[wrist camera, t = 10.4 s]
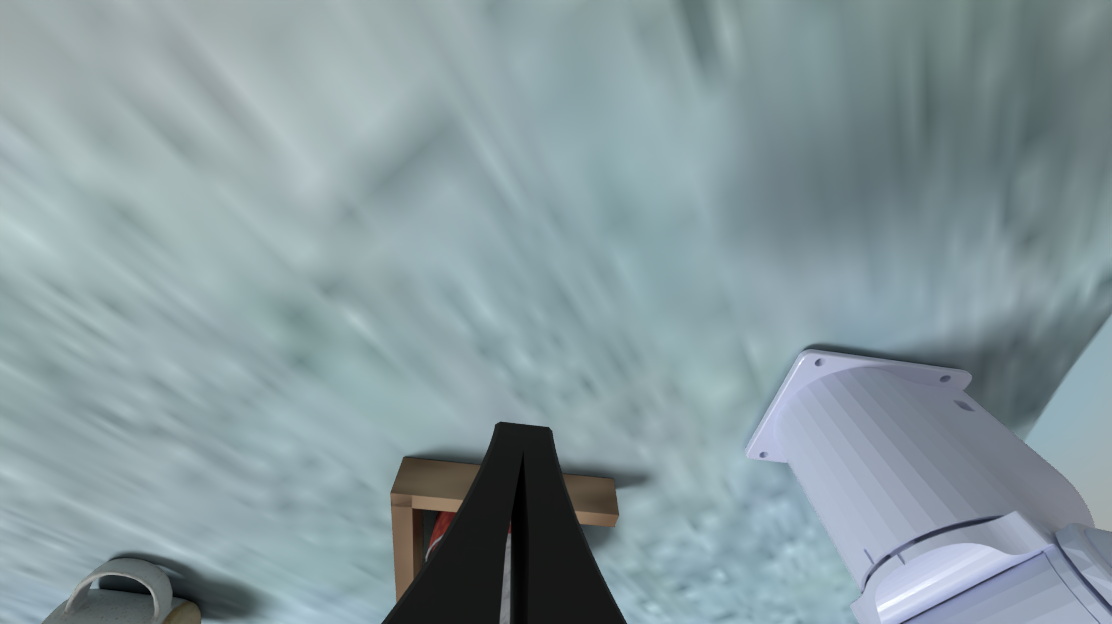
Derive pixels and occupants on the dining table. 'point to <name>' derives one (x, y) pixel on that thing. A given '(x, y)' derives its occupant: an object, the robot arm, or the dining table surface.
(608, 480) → the brown wooden u-shaped piece
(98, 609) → the ceramic mug
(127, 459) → the dining table surface
